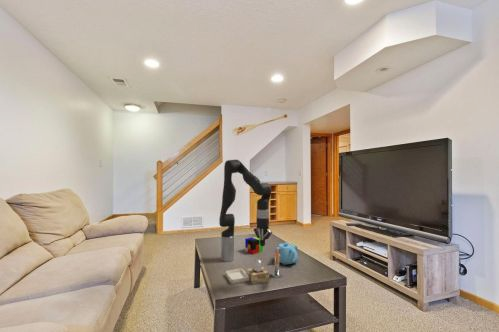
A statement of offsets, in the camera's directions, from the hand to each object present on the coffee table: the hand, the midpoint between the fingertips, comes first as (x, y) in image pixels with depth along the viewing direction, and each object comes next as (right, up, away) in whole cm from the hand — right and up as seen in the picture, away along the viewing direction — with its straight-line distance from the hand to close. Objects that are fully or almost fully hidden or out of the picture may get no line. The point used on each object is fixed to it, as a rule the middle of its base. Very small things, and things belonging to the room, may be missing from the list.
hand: (262, 245), depth 137 cm
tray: (-15, -20, +3) cm, 26 cm away
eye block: (-3, -20, +1) cm, 21 cm away
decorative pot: (+19, -22, +28) cm, 40 cm away
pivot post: (+9, -21, +6) cm, 23 cm away
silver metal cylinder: (-3, -21, +1) cm, 21 cm away
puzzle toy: (-4, -22, +50) cm, 55 cm away
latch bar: (+9, -9, +1) cm, 12 cm away
